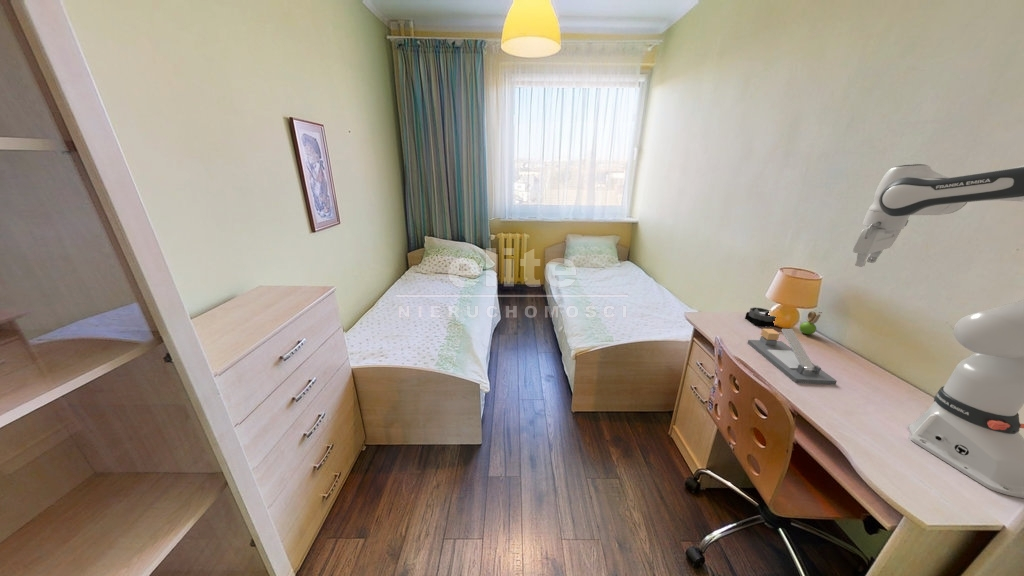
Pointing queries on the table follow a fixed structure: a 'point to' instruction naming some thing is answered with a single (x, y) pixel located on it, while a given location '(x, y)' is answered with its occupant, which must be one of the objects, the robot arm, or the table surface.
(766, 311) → the cpu cooler
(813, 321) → the snail figurine
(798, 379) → the socket frame
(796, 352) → the grey metal bar
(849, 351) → the table surface
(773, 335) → the tan small block
